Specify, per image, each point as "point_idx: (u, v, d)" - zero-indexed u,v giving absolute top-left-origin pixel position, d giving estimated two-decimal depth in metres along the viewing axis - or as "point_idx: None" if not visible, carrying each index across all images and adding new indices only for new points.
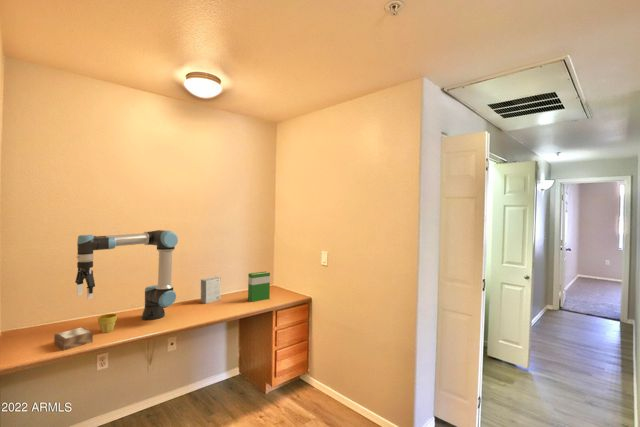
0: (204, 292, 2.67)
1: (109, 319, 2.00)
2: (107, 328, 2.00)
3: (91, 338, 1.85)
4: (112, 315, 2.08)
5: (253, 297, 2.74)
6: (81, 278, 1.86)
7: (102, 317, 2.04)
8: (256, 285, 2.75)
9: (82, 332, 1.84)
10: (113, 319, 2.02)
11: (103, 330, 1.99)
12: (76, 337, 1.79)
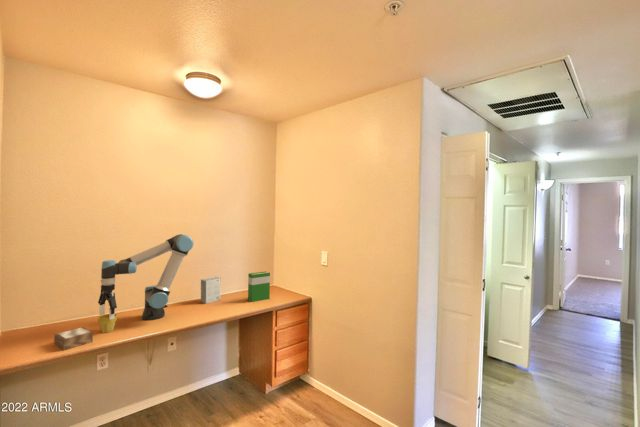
0: (204, 292, 2.67)
1: (109, 319, 2.00)
2: (107, 328, 2.00)
3: (91, 338, 1.85)
4: None
5: (253, 297, 2.74)
6: (103, 299, 2.05)
7: (102, 317, 2.04)
8: (256, 285, 2.75)
9: (82, 332, 1.84)
10: (113, 319, 2.02)
11: (103, 330, 1.99)
12: (76, 337, 1.79)
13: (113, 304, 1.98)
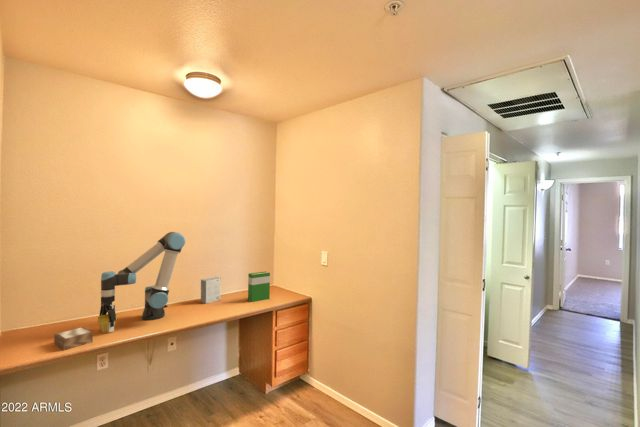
0: (204, 292, 2.67)
1: None
2: (107, 328, 2.00)
3: (91, 338, 1.85)
4: None
5: (253, 297, 2.74)
6: (104, 312, 2.05)
7: (102, 317, 2.04)
8: (256, 285, 2.75)
9: (82, 332, 1.84)
10: None
11: (103, 330, 1.99)
12: (76, 337, 1.79)
13: (112, 317, 1.98)
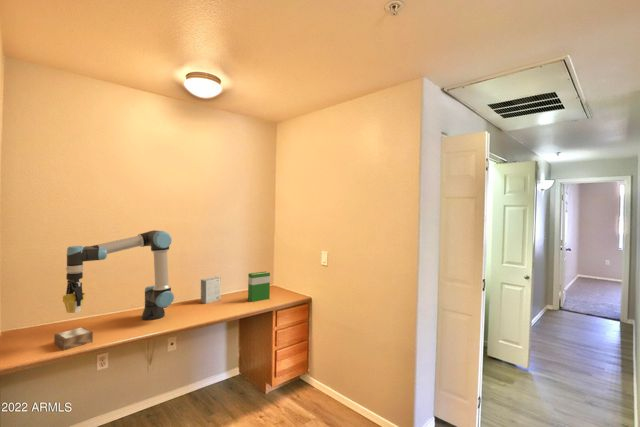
0: (204, 292, 2.67)
1: (75, 298, 1.80)
2: (73, 308, 1.80)
3: (91, 338, 1.85)
4: None
5: (253, 297, 2.74)
6: (71, 290, 1.85)
7: (68, 296, 1.85)
8: (256, 285, 2.75)
9: (82, 332, 1.84)
10: None
11: (68, 310, 1.80)
12: (76, 337, 1.79)
13: (79, 295, 1.79)
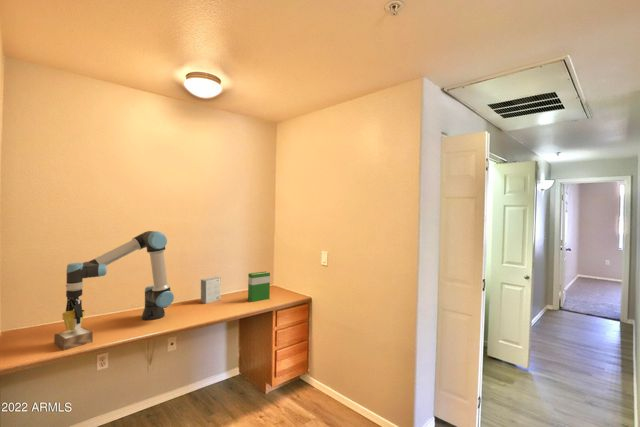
0: (204, 292, 2.67)
1: None
2: (73, 325, 1.80)
3: (91, 338, 1.85)
4: None
5: (253, 297, 2.74)
6: (71, 307, 1.85)
7: (68, 313, 1.85)
8: (256, 285, 2.75)
9: (82, 332, 1.84)
10: None
11: (68, 327, 1.80)
12: (76, 337, 1.79)
13: (79, 313, 1.79)
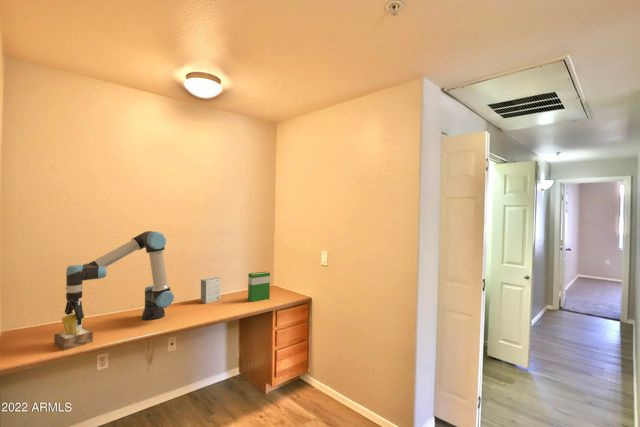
0: (204, 292, 2.67)
1: (74, 319, 1.80)
2: (72, 329, 1.81)
3: (91, 338, 1.85)
4: None
5: (253, 297, 2.74)
6: (70, 308, 1.86)
7: (68, 317, 1.85)
8: (256, 285, 2.75)
9: (82, 332, 1.84)
10: None
11: (68, 331, 1.80)
12: (76, 337, 1.79)
13: (79, 314, 1.78)
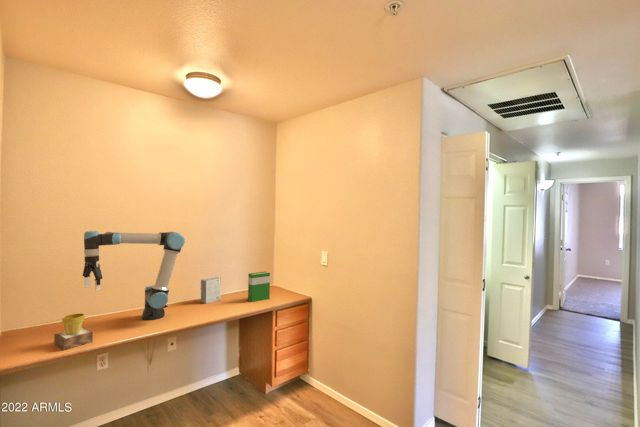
0: (204, 292, 2.67)
1: (74, 319, 1.80)
2: (72, 329, 1.81)
3: (91, 338, 1.85)
4: (79, 315, 1.88)
5: (253, 297, 2.74)
6: (88, 271, 2.00)
7: (68, 317, 1.85)
8: (256, 285, 2.75)
9: (82, 332, 1.84)
10: (79, 319, 1.82)
11: (68, 331, 1.80)
12: (76, 337, 1.79)
13: (98, 275, 1.93)
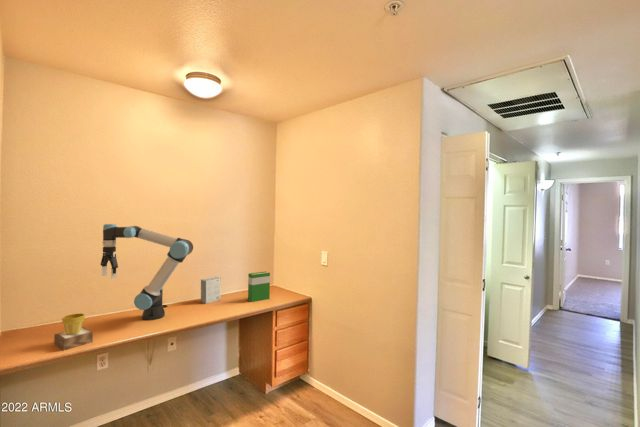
0: (204, 292, 2.67)
1: (74, 319, 1.80)
2: (72, 329, 1.81)
3: (91, 338, 1.85)
4: (79, 315, 1.88)
5: (253, 297, 2.74)
6: (105, 261, 2.17)
7: (68, 317, 1.85)
8: (256, 285, 2.75)
9: (82, 332, 1.84)
10: (79, 319, 1.82)
11: (68, 331, 1.80)
12: (76, 337, 1.79)
13: (114, 264, 2.10)
